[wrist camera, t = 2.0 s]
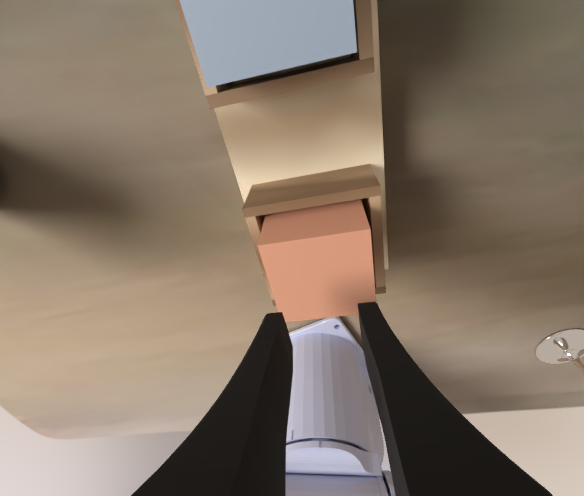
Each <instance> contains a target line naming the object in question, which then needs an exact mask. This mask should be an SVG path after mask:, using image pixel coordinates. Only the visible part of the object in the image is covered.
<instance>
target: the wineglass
mask: <svg viewBox="0 0 584 496" xmlns="http://www.w3.org/2000/svg"><path fill="white" fill-rule="evenodd" d="M535 354H536V357H537V358H538V359H539V360H540V361H542V362H544V363H549V364H561V363H567V362H573V363H574V364H575V365H576V366H577V367H578V368H579V370H580V371H581V372H582V373H583V374H584V364H583V363H582V362H581V360H580V358H581V357H582V356H584V330H583V329H569V330H563V331H560V332H557V333H554V334H552V335H550V336H548V337H547V338H545V339H544V340H542V341H541V342H540V343H539V344H538V346H537V348H536V350H535Z"/></svg>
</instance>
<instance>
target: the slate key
mask: <svg viewBox="0 0 584 496" xmlns="http://www.w3.org/2000/svg"><path fill="white" fill-rule="evenodd" d="M180 3H181V7H182V10H183V13H184V16H185V19H186V22H187V25H188V29H189V32H190V35H191V38H192V41H193V44H194V48H195V51H196V54H197V57H198V60H199V63H200V66H201V70H202V73H203V76H204V79H205V82H206V85H207V88H208V87H212V86H216V85H221V84H225V83H229V82H233V81H237V80H242V79H246V78H250V77H254V76H259V75H263V74H267V73H271V72H276V71H280V70H284V69H288V68H293V67H297V66H301V65H305V64H310V63H314V62H318V61H322V60H326V59H331V58H335V57H339V56H343V55H348V54H352V53H356V52H357V45H356V32H355V18H354V5H353V0H180Z"/></svg>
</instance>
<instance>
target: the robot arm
mask: <svg viewBox="0 0 584 496" xmlns="http://www.w3.org/2000/svg"><path fill="white" fill-rule="evenodd" d="M357 304H358V312H359V321H360V329H361V337H362V344H363V349H362V348H361V346H360V345H359V344H358V342H357V341H356V340H355V338H354V337H353V336H352V334H351V333H350V331H349V330H348V329H347V327H346V326H345V325H344V323H343V322H342V320H341V319H340V318H339V317H329V318H325V319H323V320H320V321H317V322H315V323H312V324H310V325H307V326H304V327H302V328H299V329H297V330H294V331H291V332H288V329H287V326H286V323H285V319H284V316H283V313H282V312H278V313H269V314H266V316H265V317H264V319H263V322H262V324H261V326H260V328H259V330H258V332H257V334H256V336H255V338H254V340H253V342H252V344H251V346H250V347H249V349H248V351H247V353H246V355H245V356H244V358H243V360H242V362H241V363H240V365H239V367H238V368H237V370H236V372H235V373H234V375H233V376H232V378H231V380H230V381H229V383H228V384H227V386H226V387H225V389H224V390H223V392H222V393H221V395H220V396H219V397H218V399H217V400H216V402H215V403H214V404H213V406H212V407H211V408H210V410H209V411H208V412H207V414H206V415H205V416H204V417H203V419H202V420H201V421H200V422H199V424H198V425H197V426H196V427H195V429H194V430H193V431H192V432H191V434H190V435H189V436H188V437H187V438H186V439H185V440H184V442H183V443H182V444H181V445H180V446H179V447H178V448H177V449H176V450H175V452H174V453H173V454H172V455H171V456H170V457H169V458H168V459H167V460H166V461H165V462H164V464H163V465H162V466H161V467H160V468H159V469H158V470H157V471H156V472H155V473H154V474H153V475H152V476H151V477H150V478H149V479H148V480H147V481H146V482H144V483H143V484H142V485H141V486H140V487H139V488H138V489H137V491H135V492H134V493H133V494H132V495H131V496H552V494H551V493H550V492H549V491H548V490H547V489H545V488H544V487H543V486H542V485H540V484H539V483H538V482H537V481H535V480H534V479H533V478H532V477H531V476H529V475H528V474H527V473H526V472H524V471H523V470H522V469H521V468H520V467H519V466H517V465H516V464H515V463H514V462H513V461H511V460H510V459H509V458H508V457H507V456H506V455H505V454H503V453H502V452H501V451H500V450H499V449H498V448H497V447H496V446H494V445H493V444H492V443H491V442H490V441H489V440H488V439H487V438H486V437H485V436H484V435H482V434H481V432H479V431H478V430H477V429H476V428H475V427H474V426H473V425H472V424H471V423H470V422H469V421H468V420H467V419H466V418H465V417H464V416H463V415H462V414H461V413H460V412H459V411H458V410H457V409H456V408H455V407H454V406H453V405H452V404H451V403H450V402H449V401H448V400H447V399H446V398H445V397H444V396H443V395H442V394H441V392H440V391H439V390H438V389H437V388H436V387H435V386H434V385H433V384H432V382H431V381H430V380H429V379H428V378H427V377H426V375H425V374H424V373H423V372H422V371H421V369H420V368H419V367H418V366H417V364H416V363H415V362H414V361H413V359H412V358H411V357H410V355H409V354H408V353H407V351H406V350H405V349H404V347H403V346H402V344H401V343H400V342H399V340H398V339H397V337H396V336H395V334H394V333H393V331H392V330H391V328H390V327H389V325H388V323H387V322H386V320H385V318H384V317H383V315H382V313H381V311H380V309H379V307H378V304H377V303H376V302H366V303H357ZM363 350H364V351H363ZM376 405H377V406H376ZM377 409H378V411H377ZM378 412H379V416H380V420H381V423H382V428H383V432H384V436H385V441H386V446H387V452H388V458H389V462H390V469H391V472H390V471H382V468H381V465H382V461H383V455H384V444H383V438H382V432H381V427H380V422H379V416H378Z"/></svg>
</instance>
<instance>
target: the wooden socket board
mask: <svg viewBox="0 0 584 496" xmlns="http://www.w3.org/2000/svg"><path fill="white" fill-rule="evenodd" d="M175 2H176V6H177V9H178V12H179V15H180V18H181V21H182V24H183V27H184V30H185V33H186V36H187V39H188V43H189V46H190V49H191V52H192V55H193V58H194V61H195V64H196V67H197V70H198V73H199V77H200V80H201V83H202V86H203V89H204V92H205V95H206V98H207V101H208V104H209V107H210V109H213V108H214V109H215V112H216V115H217V118H218V121H219V124H220V128H221V131H222V134H223V137H224V140H225V143H226V147H227V150H228V153H229V156H230V159H231V162H232V166H233V169H234V172H235V175H236V178H237V181H238V185H239V188H240V191H241V194H242V197H243V200H244V206H243V208H242V209H243V212H244V216H245V219H246V222H247V225H248V228H249V231H250V234H251V237H252V240H253V243H254V246H255V250H256V253H257V256H258V259H259V262H260V265H261V268H262V271H263V274H264V277H265V280H266V283H267V287H268V290H269V293H270V296H271V299H272V302H273V305H274V306H276V303H275V300H274V296H273V293H272V290H271V287H270V284H269V281H268V277H267V274H266V271H265V268H264V265H263V262H262V259H261V255H260V252H259V249H258V242H259V238H260V234H261V230H262V226H263V223H264V219H265V215H266V214H272V213H278V212H284V211H290V210H296V209H302V208H308V207H314V206H320V205H326V204H332V203H338V202H345V201H351V200H357V199H361V202H362V205H363V208H364V211H365V214H366V217H367V220H368V223H369V226H370V229H371V242H372V255H373V268H374V282H375V294H381V293H386V286H385V270H386V269H389V268H388V244H387V221H386V197H385V174H384V150H383V126H382V103H381V79H380V55H379V32H378V8H377V0H353V5H354V18H355V32H356V45H357V52H356V53H352V54H348V55H343V56H339V57H335V58H331V59H326V60H322V61H318V62H314V63H310V64H305V65H301V66H297V67H293V68H288V69H284V70H280V71H276V72H271V73H267V74H263V75H259V76H254V77H250V78H246V79H242V80H237V81H233V82H229V83H225V84H221V85H216V86H212V87H208V88H207V85H206V82H205V79H204V76H203V73H202V70H201V66H200V63H199V60H198V57H197V54H196V51H195V48H194V44H193V41H192V38H191V35H190V32H189V29H188V25H187V22H186V19H185V16H184V13H183V10H182V7H181V3H180V0H175Z"/></svg>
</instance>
